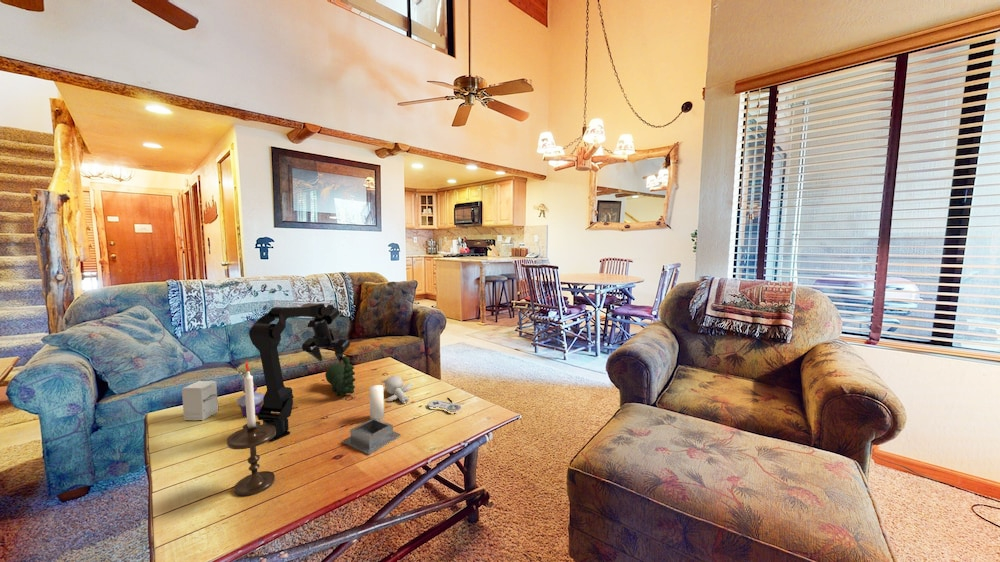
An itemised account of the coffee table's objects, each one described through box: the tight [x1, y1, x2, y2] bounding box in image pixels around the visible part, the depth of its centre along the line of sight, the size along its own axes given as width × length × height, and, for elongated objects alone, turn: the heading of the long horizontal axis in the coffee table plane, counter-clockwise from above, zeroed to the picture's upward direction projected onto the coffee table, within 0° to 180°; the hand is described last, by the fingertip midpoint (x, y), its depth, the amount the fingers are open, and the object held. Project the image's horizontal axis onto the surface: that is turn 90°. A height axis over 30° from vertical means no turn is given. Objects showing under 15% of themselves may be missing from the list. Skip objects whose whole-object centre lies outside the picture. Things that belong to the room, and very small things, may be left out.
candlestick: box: [226, 361, 276, 497], centre depth 95 cm, size 11×11×35 cm
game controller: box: [427, 399, 463, 412], centre depth 146 cm, size 15×13×2 cm
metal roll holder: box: [342, 418, 401, 456], centre depth 119 cm, size 13×13×4 cm
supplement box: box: [181, 380, 219, 422], centre depth 134 cm, size 7×7×13 cm
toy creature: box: [380, 375, 413, 404], centre depth 154 cm, size 13×7×20 cm
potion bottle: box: [236, 382, 265, 418], centre depth 136 cm, size 9×9×12 cm
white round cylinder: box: [368, 384, 385, 420], centre depth 134 cm, size 5×5×12 cm
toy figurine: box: [325, 355, 356, 397], centre depth 158 cm, size 9×19×25 cm
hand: (331, 361), depth 152 cm, fingers open, 9 cm apart
